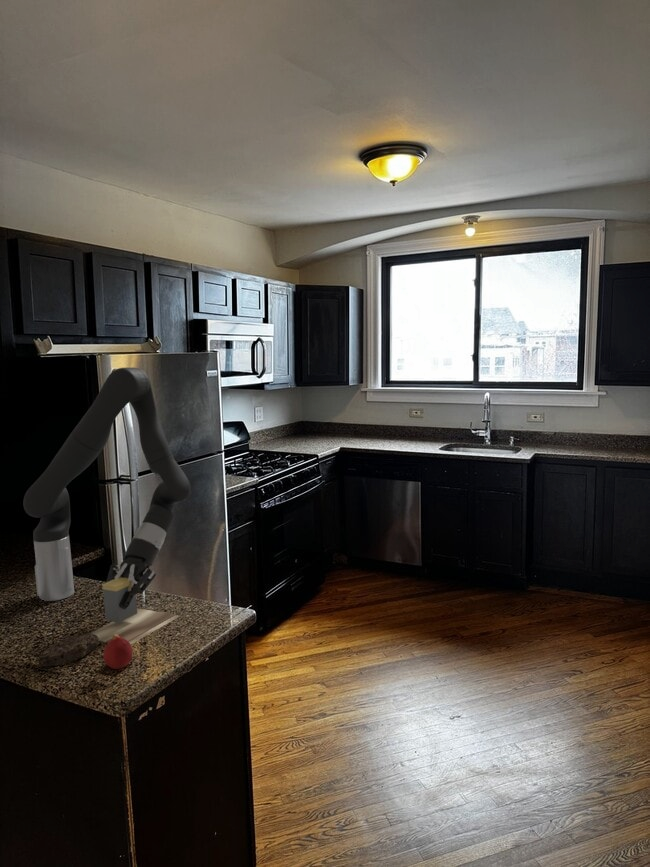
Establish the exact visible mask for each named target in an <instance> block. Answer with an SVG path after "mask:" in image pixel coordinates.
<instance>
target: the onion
mask: <svg viewBox="0 0 650 867" xmlns="http://www.w3.org/2000/svg"><path fill="white" fill-rule="evenodd" d="M102 654H103V655H102V656H103V661H104V663H105V665H107V666H108V667H109V668H111V669H113V670H119V669H124V668H125V667H127V666H128V665H129V664H130V663H131V661H132V659H133V646H132V644H130V643H129V642H128V641H127V640H126V639H124V638H122V637H120V636H118V635H116V634H115V635H113V639H112V640H111V641H110V642H109V643H107V644H106V645H105V647H104V648H103V653H102Z"/></svg>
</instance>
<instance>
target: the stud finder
mask: <svg viewBox="0 0 650 867" xmlns="http://www.w3.org/2000/svg"><path fill="white" fill-rule="evenodd" d="M134 580H135V579H134ZM129 583H130V582H129V580H128V578H118V579H117V578H116V579H114V580H111V581H109V582H107V583H106V582H104V583H102V584H101V586H102V587H101V588H102V593H103V600H104V601H103V604H104V614H105V615H104V616H105V621H107V622H117V623H120V622H122V621H124V620H126V619H128V618H130V617H131V616H133V615H135V614H137V609H138V606H137V604H138V603H137V596H136V595H137V594H136V595H134V596H133V598H132V600H131V602H130V604H129V606H128V607H127V608H126V609H122V608H121V607H119V604H120V602H121V600H122V598H123V596H124V594H125V592H127V588H128V585H129ZM133 587H134V585H133Z"/></svg>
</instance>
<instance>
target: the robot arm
mask: <svg viewBox="0 0 650 867" xmlns="http://www.w3.org/2000/svg"><path fill="white" fill-rule="evenodd" d="M129 403H130V405H131V406H132V408H133V410H134V414H135V416H136V419H137V420H136V421H137V423H138V433H139V442H140V446H141V450H142V453H143V456H144V457H145V460H146V463H147V465H148V468H149V470H150V471H151V472H152V474H155V475H159V477H160V478H161V480H162V481H161V482H160V483H159V484H158V486H156V488H155V489H154V492H153V494H152V496H151V501H150V503H149V504H150V505H149V508H148V511H147V513H146V515H145V517H144V519H143V520H142V522H141V524H140V525H139V527H137V530H136V531H135V532H134V535H133V537H132V539H131V541H130V543H129V544H128V547H127V548H126V550H125V552H124V557H125V560H122V562H121V563H120V564H117V565H116V564H115V563H112V564H110V567H109V571H108V573H107V577H106V582H105V583H107V582H109V581H111V580H114V579H116V578H117V579H118V578H128V580H129V582H130V583H129V585H128V588H127V592H125V594H124V596H123V598H122V600H121V602H120V604H119V607H121V608H122V609H126V608H127V607H128V606H129V604H130V602H131V600H132V598H133V596H134V595H138V594H140V595H142V594H143V593H144V592H145V591H146V590H147V588H148V587H149V585H150V584H151V583H152V582H153V580H154V579H155V577H156V575H157V574H156V573H155V571H154V570H152V569H151V568H150V567H152V566H153V564H154V562H155V561H156V559H157V556H158V555H159V552H160V550H161V548H162V547H163V545H164V542H165V539H166V536H167V535H168V532H169V530H170V528H171V525H172V523H173V521H174V513H173V509H174V507H175V505H176V504H179V503H183V502H185V501H187V500H188V499H189V497H190V495H191V491H192V490H191V483H190V480H189V479H188V476H187V475H186V474H185V472H184V471H183V470H182V468H181V466H180V465H179V464H178V463H177V461H176V460H175V457H174V455H173V453H172V449H171V446H169V442H168V439H167V438H166V435H165V432H164V430H163V427H162V423H161V420H160V416H159V413H158V409H157V405H156V402H155V396H154V393H153V388H152V384H151V381H150V378H149V376H148V374H147V373H146V372H145V371H144V370H143V369H140V368H139V367H119V368H116V369H114V370H112V372H110V374H109V375H108V376H107V378H106V380H105V381H104V383H103V385H102V387H101V389H100V390H99V392H98V394H97V395H96V398H95V400H93V403H92V404H91V406H90V407H89V408H88V410H87V411H86V413H85V414H84V415H83V416H82V417H81V419H80V421H79V422H78V423H77V425H76V426H75V427H74V429H72V432H71V433H70V434H69V435H68V436H67V439H66V440H65V442H64V443H63V444H62V446H61V447H60V448H59V450H58V452H57V453H56V454H55V456H54V458H53V459H52V460H51V462H50V464H49V465H48V466H47V468H46V469H45V470H44V471H43V473H42V474H41V475H40V476H39V477H38V478H37V479H36V480H35V482H33V484H32V485H30V487H29V488H28V489H27V490H26V492H25V494H24V497H23V500H22V502H23V503H22V505H23V509H24V511H25V513H26V514H27V515H28V516H30V517H32V518H37V519H39V518H40V520H39V523H38V524H37V526H36V527H35V528H34V529H33V531H32V532H33V533H32V536H33V537H32V538H33V545H34V546H33V548H34V554H35V555H34V557H35V565H34V574H35V582H36V583H35V584H36V585H35V586H36V593H37V597H38V596H39V597H38V598H39V600H40V599H41V600H40V601H42V600H44V601H43V602H54V601H60V600H63V599H66V598H69V597H71V596H73V595H74V594H75V587H74V585H75V584H74V574H73V564H72V553H71V543H70V542H71V541H70V534H69V533H70V532H69V530H70V526H71V522H72V520H71V519H72V518H71V502H70V495H69V492H68V490H67V488H66V487H67V486H68V485H69V483H71V482H72V481H73V480H74V479H75V478H76V477H77V476H79V475H81V474H82V473H83V472H84V471H85V470H86V469H87V468H89V467H90V466H91V464H92V463H93V462H94V461H95V460H96V459H97V457H98V456H99V455H100V454H101V453H102V451H103V449H104V448H105V446H106V444H107V443H108V440H109V439H110V438H109V437H110V435H111V429H112V426H113V424H114V422H115V419H117V417H118V415H119V414H120V413H121V412H122V410H123V409H124V408H125V407H126V406H127V405H128V404H129ZM134 579H135V580H134ZM133 585H134V587H133Z"/></svg>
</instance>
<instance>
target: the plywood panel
mask: <svg viewBox="0 0 650 867" xmlns="http://www.w3.org/2000/svg"><path fill="white" fill-rule="evenodd" d="M180 617H181V616H180V615H177V614H175V613H171V612H165V611H155V610H150V609H149V610H148V609H144V608H137V614H135V615H133V616H131V617H130V618H128V619H126V620H124V621H122V622H120V623H117V622H112V621H110V622H109V623H108V624H106V625H104V626H102V627H100V628H98V629H96V630H94V631H92V632H91V633H93V634H95V635H97V636H98V638H99V642H103V643H107V644H108V643H109V642H110V641H111V640H112V639H113V635H115V634H116V635H118V636H120V637H122V638H124V639H126V640H127V641H128V642H129V643H130V644H131V645H132V644H135V643H136V642H138V641H139V640H142V639H143V638H145V637H147V636H148V635H150V634H152V633H153V632H155V631H157V630H158V629H160V628H162V627H164V626H166V625H167V624H170V623H171V622H173V621H175V620H176V619H178V618H180Z"/></svg>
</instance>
